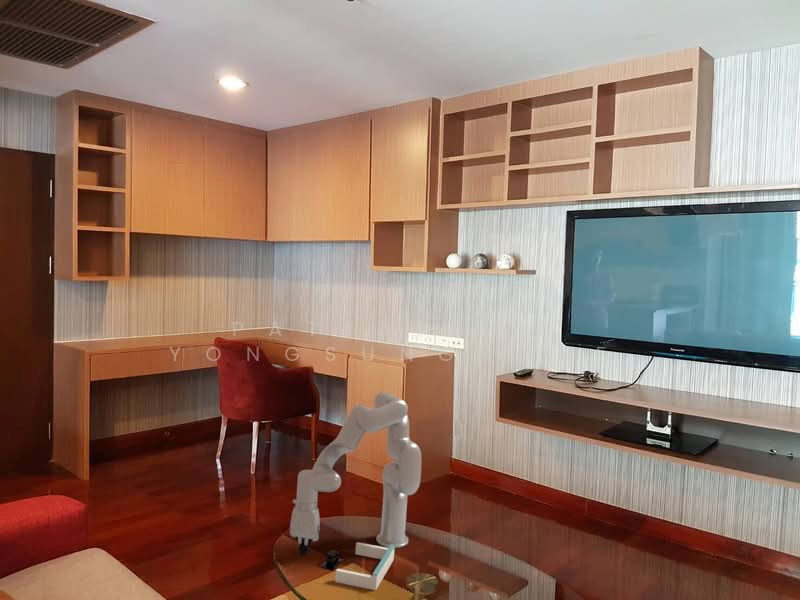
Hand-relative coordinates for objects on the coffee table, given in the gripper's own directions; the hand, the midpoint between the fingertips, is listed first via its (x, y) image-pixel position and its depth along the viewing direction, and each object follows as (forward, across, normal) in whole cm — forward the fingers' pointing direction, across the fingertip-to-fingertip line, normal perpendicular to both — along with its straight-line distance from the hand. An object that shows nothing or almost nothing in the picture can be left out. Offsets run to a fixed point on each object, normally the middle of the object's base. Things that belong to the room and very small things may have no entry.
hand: (303, 553), depth 227 cm
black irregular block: (+2, +11, 0) cm, 11 cm away
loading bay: (+2, +25, 0) cm, 25 cm away
